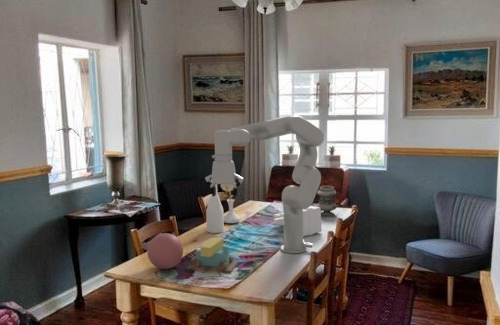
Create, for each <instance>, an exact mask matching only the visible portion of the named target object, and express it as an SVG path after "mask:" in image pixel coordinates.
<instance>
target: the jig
mask: <svg viewBox="0 0 500 325" xmlns="http://www.w3.org/2000/svg"><path fill="white" fill-rule="evenodd" d="M229 260H230V264H229V265H228V266H227V263H226V262H220V263H219V267H218V266H204V265H201V262H200V261H197V260H196V256H193V257H192V258H191V259H190V264H188V265H187V266H186V271H198V272H210V273H224V274H225V273H226V274H231V272H233V271H234V270H235V268H236V267H237V265H238V264H239V261H238V260H233V255H229ZM233 269H234V270H233Z"/></svg>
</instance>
